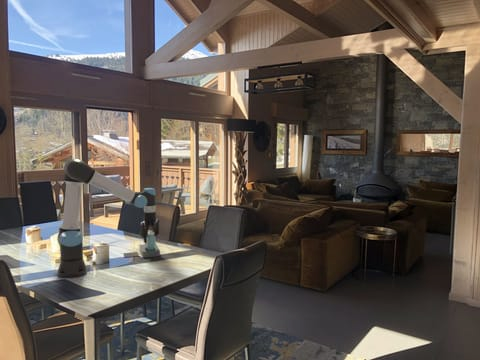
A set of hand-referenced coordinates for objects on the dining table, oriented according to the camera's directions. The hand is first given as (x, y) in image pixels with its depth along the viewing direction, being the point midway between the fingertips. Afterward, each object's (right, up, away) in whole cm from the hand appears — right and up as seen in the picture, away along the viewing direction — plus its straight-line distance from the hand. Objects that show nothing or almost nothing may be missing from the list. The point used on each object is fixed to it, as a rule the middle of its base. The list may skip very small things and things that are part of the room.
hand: (150, 246), depth 249 cm
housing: (-1, -5, +4) cm, 7 cm away
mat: (-13, -6, 0) cm, 14 cm away
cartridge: (0, -6, +1) cm, 6 cm away
